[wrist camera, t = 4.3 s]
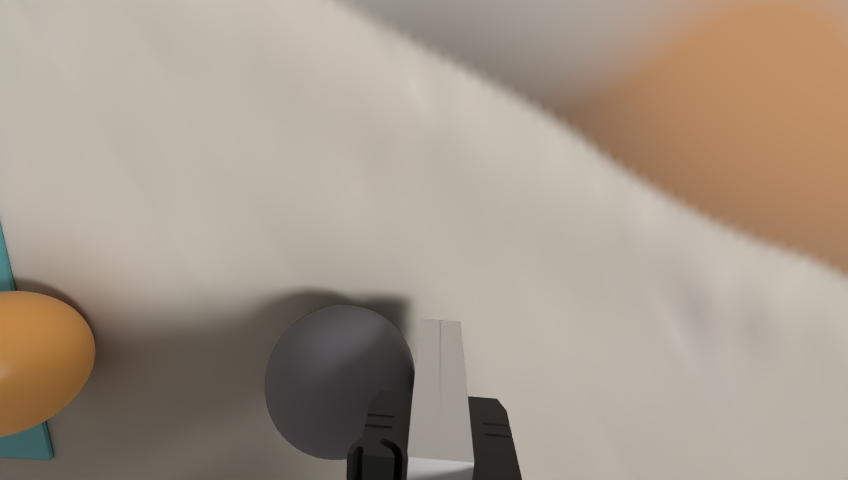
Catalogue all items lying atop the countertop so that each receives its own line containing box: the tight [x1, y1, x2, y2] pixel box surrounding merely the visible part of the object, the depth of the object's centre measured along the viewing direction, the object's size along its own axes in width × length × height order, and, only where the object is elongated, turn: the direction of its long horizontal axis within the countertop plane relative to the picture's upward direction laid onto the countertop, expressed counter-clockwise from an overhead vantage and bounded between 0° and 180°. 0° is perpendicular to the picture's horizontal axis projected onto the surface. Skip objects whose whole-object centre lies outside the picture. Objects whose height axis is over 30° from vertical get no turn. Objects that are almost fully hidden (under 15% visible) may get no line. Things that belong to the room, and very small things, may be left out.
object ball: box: [0, 291, 95, 437], centre depth 17 cm, size 6×6×6 cm
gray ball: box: [265, 305, 415, 460], centre depth 16 cm, size 6×6×6 cm
